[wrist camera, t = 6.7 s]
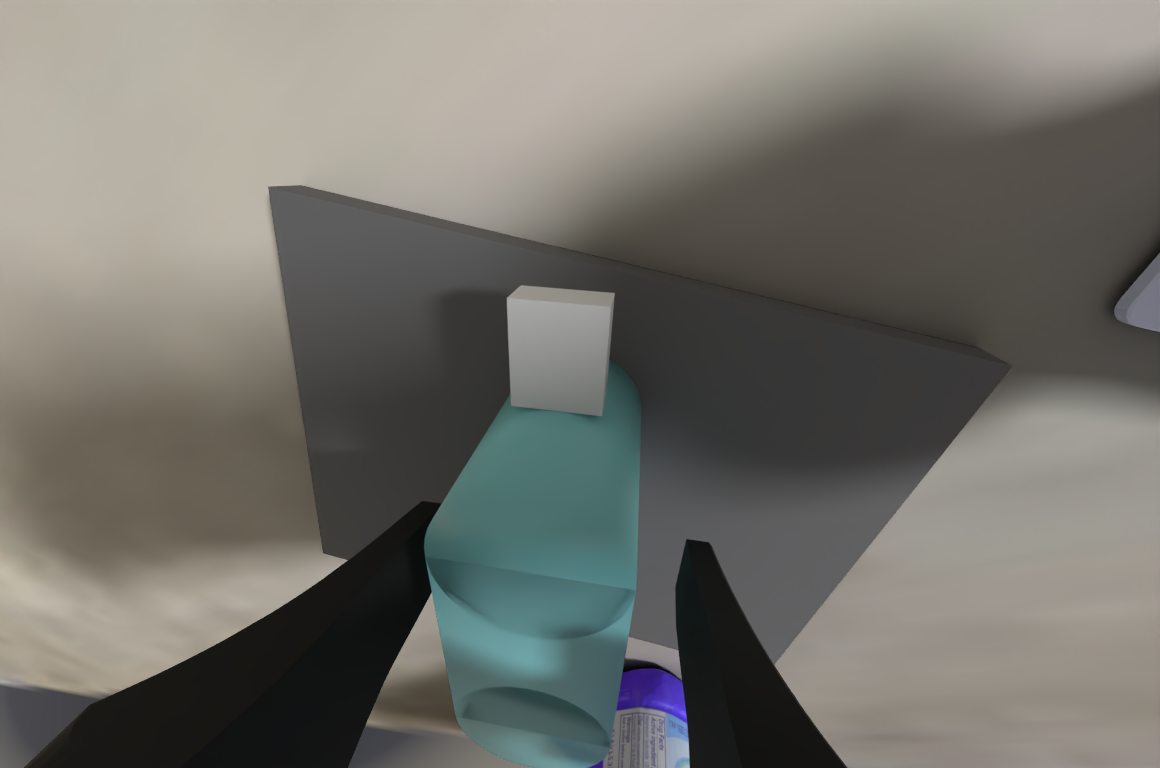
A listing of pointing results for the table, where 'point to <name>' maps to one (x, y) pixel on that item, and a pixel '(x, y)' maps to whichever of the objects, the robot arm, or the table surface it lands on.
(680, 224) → the table surface
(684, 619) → the robot arm
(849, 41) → the table surface
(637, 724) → the bottle
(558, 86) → the table surface
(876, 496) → the rubber mat
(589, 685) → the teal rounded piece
